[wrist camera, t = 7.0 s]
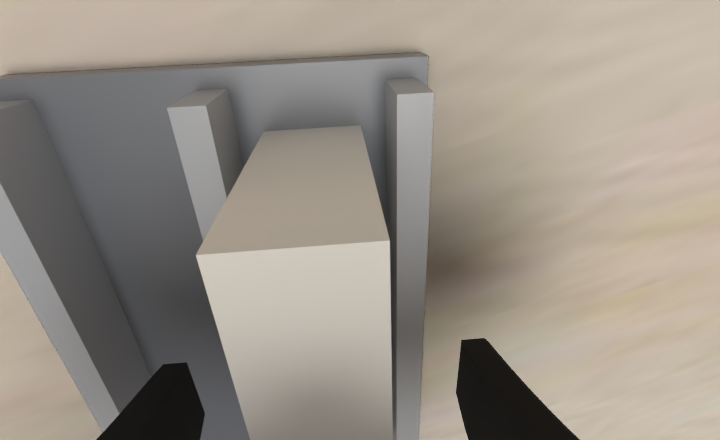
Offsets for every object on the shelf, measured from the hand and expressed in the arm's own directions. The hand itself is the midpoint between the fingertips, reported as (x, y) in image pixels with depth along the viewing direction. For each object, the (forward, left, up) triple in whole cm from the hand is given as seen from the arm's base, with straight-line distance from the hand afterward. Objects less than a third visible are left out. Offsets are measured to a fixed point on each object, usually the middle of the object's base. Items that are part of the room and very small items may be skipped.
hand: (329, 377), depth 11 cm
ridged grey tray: (+2, +2, -4) cm, 5 cm away
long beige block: (0, 0, -3) cm, 3 cm away
